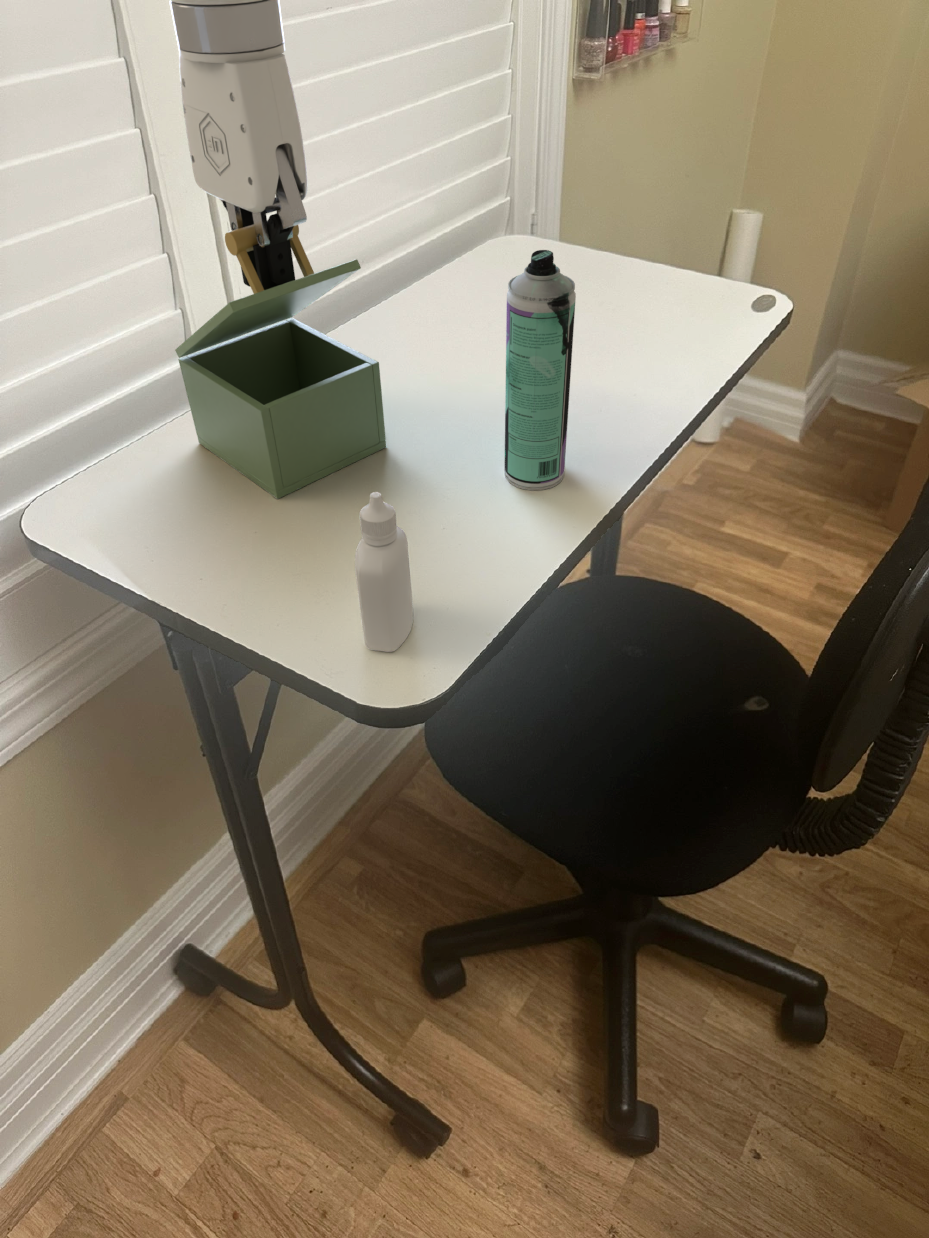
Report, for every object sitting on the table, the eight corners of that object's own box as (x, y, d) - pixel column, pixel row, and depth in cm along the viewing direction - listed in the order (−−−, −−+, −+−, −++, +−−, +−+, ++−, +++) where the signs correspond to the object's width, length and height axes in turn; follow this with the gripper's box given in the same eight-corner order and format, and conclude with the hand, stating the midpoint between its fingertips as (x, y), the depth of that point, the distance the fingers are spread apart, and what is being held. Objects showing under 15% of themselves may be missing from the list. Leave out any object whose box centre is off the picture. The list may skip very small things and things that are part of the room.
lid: (361, 268, 77) (330, 196, 75) (233, 312, 70) (197, 234, 69) (293, 317, 89) (265, 255, 87) (178, 358, 82) (146, 292, 81)
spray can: (574, 468, 84) (590, 248, 70) (545, 497, 80) (556, 272, 67) (523, 452, 86) (529, 236, 73) (493, 479, 83) (493, 258, 69)
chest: (386, 447, 87) (379, 362, 81) (277, 499, 81) (260, 411, 75) (304, 398, 95) (291, 317, 89) (198, 443, 88) (177, 358, 82)
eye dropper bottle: (341, 635, 67) (321, 501, 59) (394, 597, 70) (381, 465, 62) (384, 661, 65) (369, 526, 57) (436, 621, 68) (428, 487, 60)
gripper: (128, 23, 67) (183, 273, 79) (244, 51, 58) (286, 327, 70) (216, 11, 71) (256, 251, 83) (338, 35, 62) (362, 300, 74)
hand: (270, 284), depth 76 cm, fingers closed on lid
